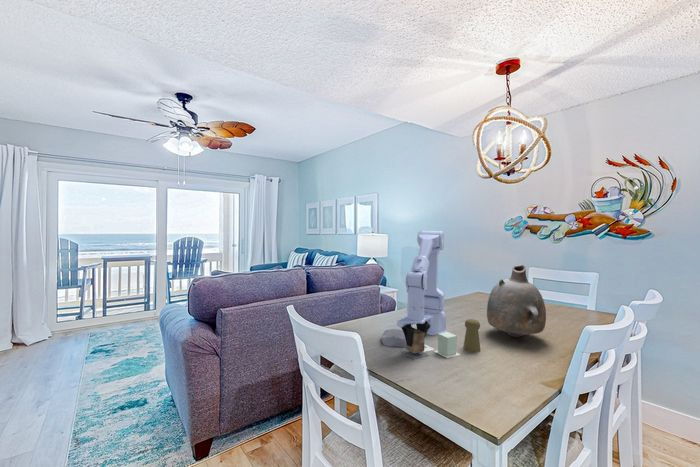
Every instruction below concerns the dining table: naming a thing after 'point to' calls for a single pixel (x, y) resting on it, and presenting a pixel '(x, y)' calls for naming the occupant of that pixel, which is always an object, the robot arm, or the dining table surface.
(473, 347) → the cork
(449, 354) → the sage block
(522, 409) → the dining table surface
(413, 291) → the robot arm
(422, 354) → the charcoal mat
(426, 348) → the cream tile
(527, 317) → the jug
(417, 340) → the walnut block
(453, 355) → the tile
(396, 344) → the stone block
